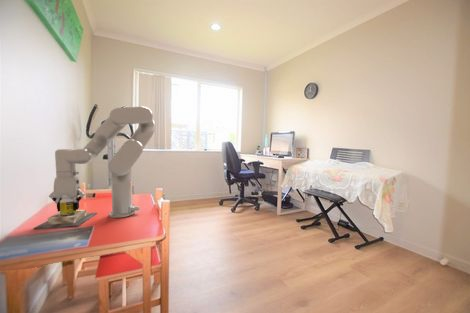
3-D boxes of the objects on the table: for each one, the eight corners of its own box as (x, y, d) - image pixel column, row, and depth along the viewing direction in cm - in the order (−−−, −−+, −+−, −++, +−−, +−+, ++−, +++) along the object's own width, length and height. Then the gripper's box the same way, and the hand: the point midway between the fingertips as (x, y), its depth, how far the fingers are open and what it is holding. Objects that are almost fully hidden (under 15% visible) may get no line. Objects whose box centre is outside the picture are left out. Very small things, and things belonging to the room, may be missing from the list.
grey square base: (96, 213, 114) (96, 207, 114) (78, 226, 97) (77, 219, 96) (59, 215, 111) (59, 209, 111) (33, 229, 93) (33, 221, 93)
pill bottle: (67, 218, 100) (66, 196, 99) (57, 217, 101) (55, 195, 101) (79, 214, 106) (78, 193, 105) (69, 213, 107) (68, 192, 107)
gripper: (89, 172, 108) (91, 207, 109) (51, 173, 105) (53, 208, 106) (81, 175, 100) (83, 211, 101) (40, 176, 97) (42, 213, 98)
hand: (68, 209), depth 104 cm, fingers closed on pill bottle, 6 cm apart
